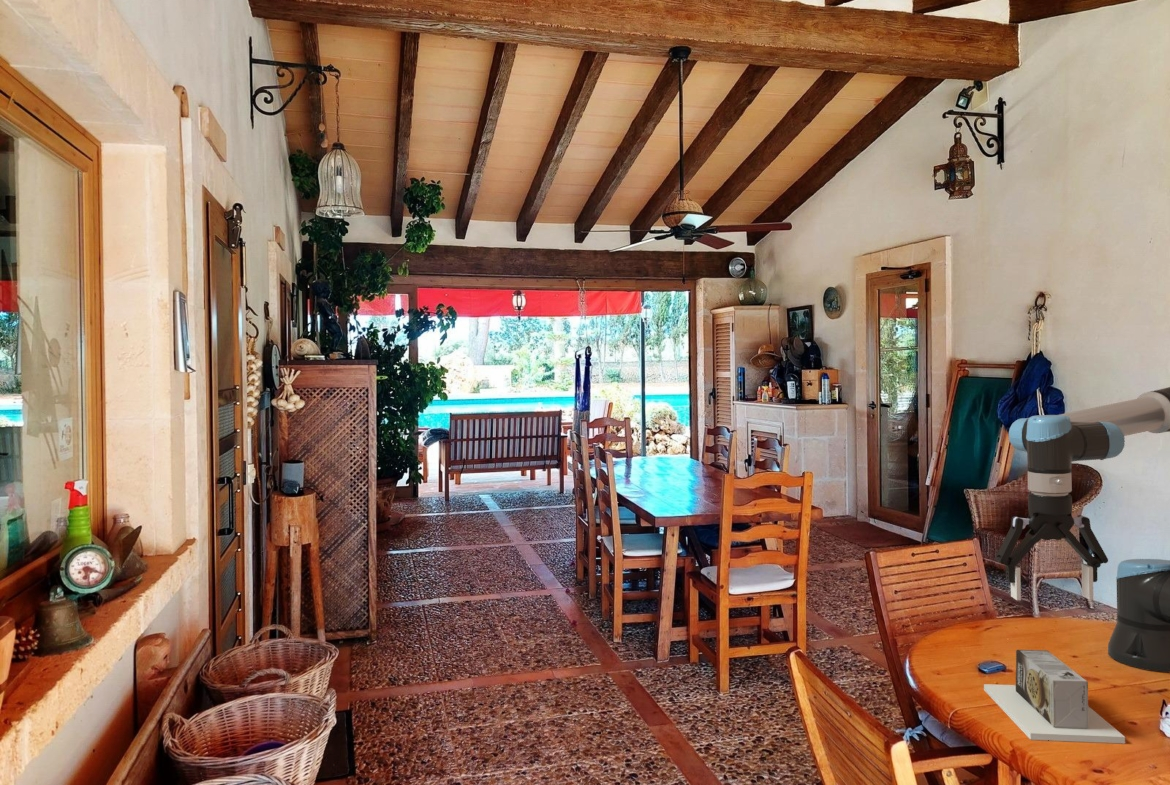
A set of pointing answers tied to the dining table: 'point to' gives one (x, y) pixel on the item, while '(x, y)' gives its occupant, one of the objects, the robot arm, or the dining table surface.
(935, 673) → the dining table surface
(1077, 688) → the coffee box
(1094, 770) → the dining table surface
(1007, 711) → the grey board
